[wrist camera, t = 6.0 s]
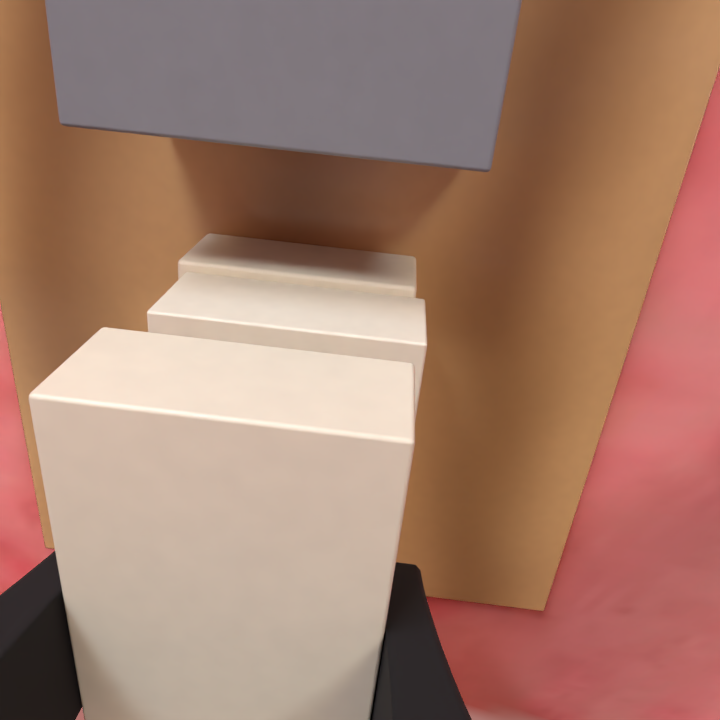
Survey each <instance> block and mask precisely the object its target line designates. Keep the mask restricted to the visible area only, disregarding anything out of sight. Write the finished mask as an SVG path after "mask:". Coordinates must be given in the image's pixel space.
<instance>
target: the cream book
mask: <svg viewBox="0 0 720 720" xmlns="http://www.w3.org/2000/svg"><path fill="white" fill-rule="evenodd" d="M29 404H30V410H31V416H32V421H33V427H34V433H35V439H36V444H37V450H38V456H39V461H40V467H41V473H42V479H43V484H44V490H45V496H46V501H47V507H48V513H49V519H50V524H51V530H52V536H53V541H54V547H55V553H56V559H57V564H58V570H59V576H60V582H61V587H62V593H63V599H64V604H65V610H66V616H67V622H68V627H69V633H70V639H71V644H72V650H73V656H74V662H75V667H76V673H77V679H78V684H79V690H80V696H81V702H82V707H83V713H84V719H85V720H371V714H372V708H373V701H374V695H375V689H376V683H377V677H378V670H379V664H380V658H381V652H382V645H383V639H384V633H385V627H386V621H387V614H388V608H389V602H390V596H391V590H392V583H393V577H394V571H395V565H396V558H397V552H398V546H399V540H400V534H401V527H402V521H403V515H404V509H405V503H406V496H407V490H408V484H409V478H410V471H411V465H412V459H413V453H414V447H415V367H414V365H413V364H412V363H406V362H398V361H389V360H381V359H372V358H363V357H355V356H346V355H338V354H329V353H321V352H312V351H304V350H295V349H287V348H278V347H270V346H261V345H253V344H244V343H235V342H227V341H218V340H210V339H201V338H193V337H184V336H176V335H167V334H159V333H150V332H142V331H133V330H124V329H116V328H107V327H104V328H101V329H100V330H99V331H98V332H96V333H95V334H94V335H93V336H92V337H91V338H90V339H89V340H88V341H87V342H86V343H84V344H83V345H82V346H81V347H80V348H79V349H78V350H77V351H76V352H75V353H73V354H72V355H71V356H70V357H69V358H68V359H67V360H66V361H65V362H64V363H63V364H61V365H60V366H59V367H58V368H57V369H56V370H55V371H54V372H53V373H52V374H50V375H49V376H48V377H47V378H46V379H45V380H44V381H43V382H42V383H41V384H40V385H38V386H37V387H36V388H35V389H34V390H33V391H32V392H31V393H30V394H29Z"/></svg>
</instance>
